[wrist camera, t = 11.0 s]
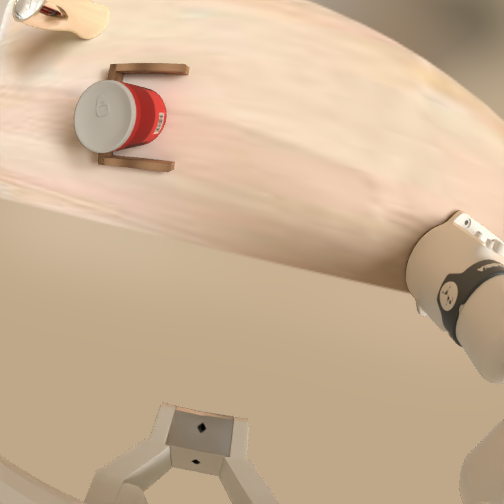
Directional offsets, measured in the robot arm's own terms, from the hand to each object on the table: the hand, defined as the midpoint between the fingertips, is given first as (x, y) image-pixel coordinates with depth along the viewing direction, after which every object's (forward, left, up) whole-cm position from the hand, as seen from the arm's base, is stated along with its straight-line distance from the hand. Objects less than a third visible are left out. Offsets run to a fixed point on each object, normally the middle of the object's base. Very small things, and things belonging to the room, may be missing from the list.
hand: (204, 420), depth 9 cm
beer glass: (+28, -24, -33) cm, 50 cm away
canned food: (+17, -9, -33) cm, 38 cm away
